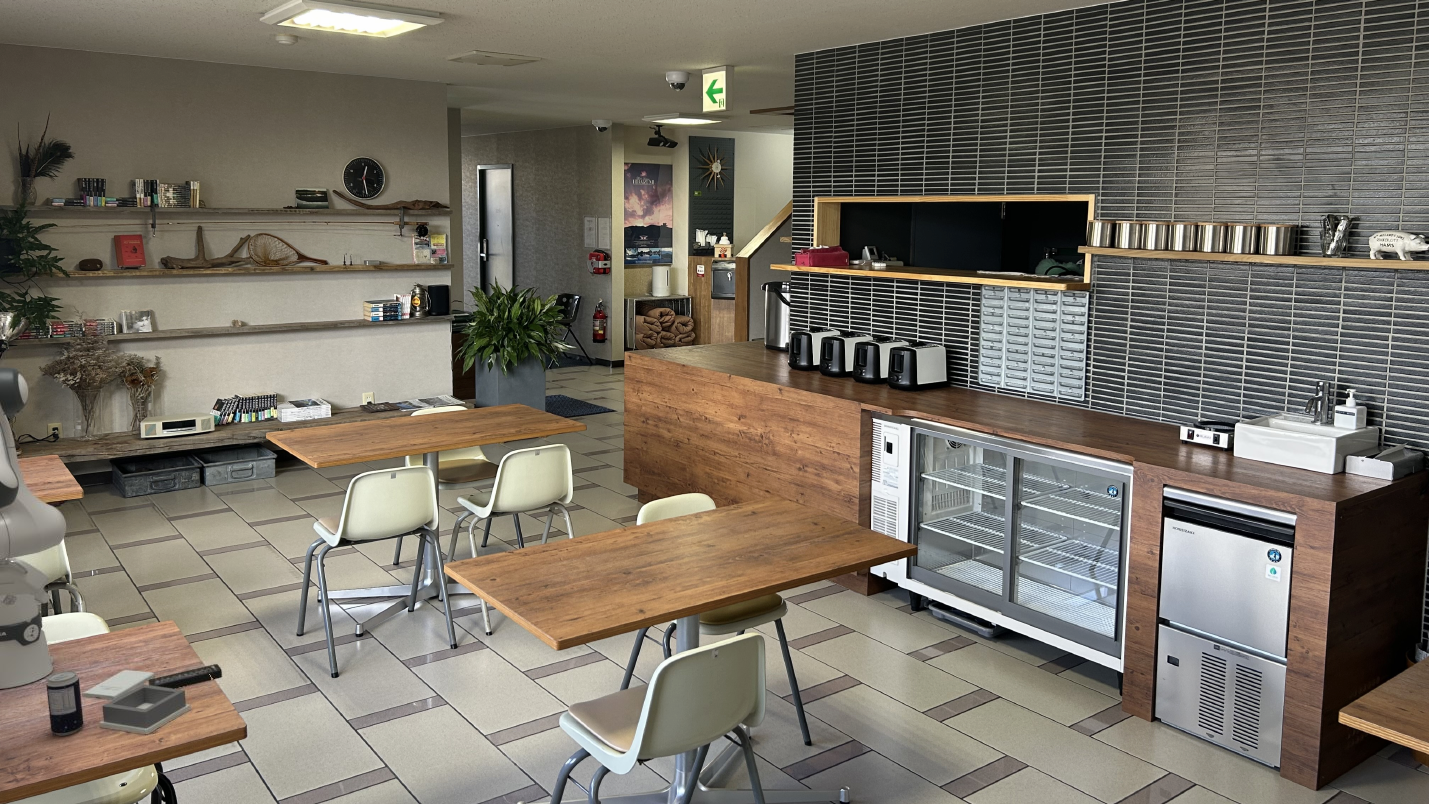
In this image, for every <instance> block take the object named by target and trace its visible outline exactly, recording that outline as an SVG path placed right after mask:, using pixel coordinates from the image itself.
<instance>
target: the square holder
mask: <svg viewBox="0 0 1429 804" xmlns="http://www.w3.org/2000/svg"><path fill="white" fill-rule="evenodd" d="M191 708H192V707H191V704H187V701H186V690H185V689H180V688H176V689H172V688H165V687H158V686H151V685H149V684H145V683H143V684H141V685H140V686H138V687H136V688H134V689H133V690H131V691H129V692H127V693H126V694H124V695H122V696H120V697H118V698H117V699H115V700H110V701H109V702H107V703H105V704H103V705H102V716H103V720H101V721H100V722H98V724H99V725H98V727H99V728H101V729H102V728H103V729H107V730H116V731H121V732H128V733H133V734H140V735H145V734H146V735H147V734H148V735H150V734H151V733H152V732H154V731H156V730H158V729H159V727H160V728H161V727H162V726H165V725H166V724H168V723H169V721H170V722H171V721H173V720H174V719H177V718H178V717H180V716H182V715H184V714H185V713H187V712H189V711H190V710H192V709H191ZM157 728H158V729H157Z"/></svg>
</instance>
